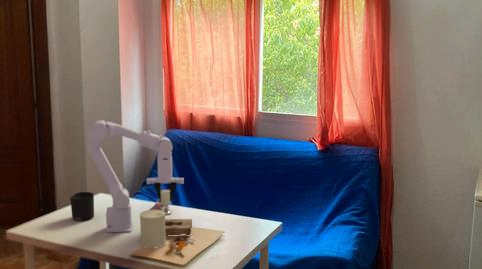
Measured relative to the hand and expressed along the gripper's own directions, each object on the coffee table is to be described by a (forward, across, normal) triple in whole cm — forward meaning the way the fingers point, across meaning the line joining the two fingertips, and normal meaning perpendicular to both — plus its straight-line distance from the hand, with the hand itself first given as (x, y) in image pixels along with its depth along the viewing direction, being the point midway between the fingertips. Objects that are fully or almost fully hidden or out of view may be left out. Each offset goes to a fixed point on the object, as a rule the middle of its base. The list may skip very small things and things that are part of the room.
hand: (165, 200), depth 203 cm
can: (+10, -3, -19) cm, 22 cm away
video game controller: (+10, -6, +17) cm, 20 cm away
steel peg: (+6, 0, 0) cm, 6 cm away
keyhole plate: (+10, +3, -8) cm, 13 cm away
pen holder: (+10, -36, +10) cm, 39 cm away
